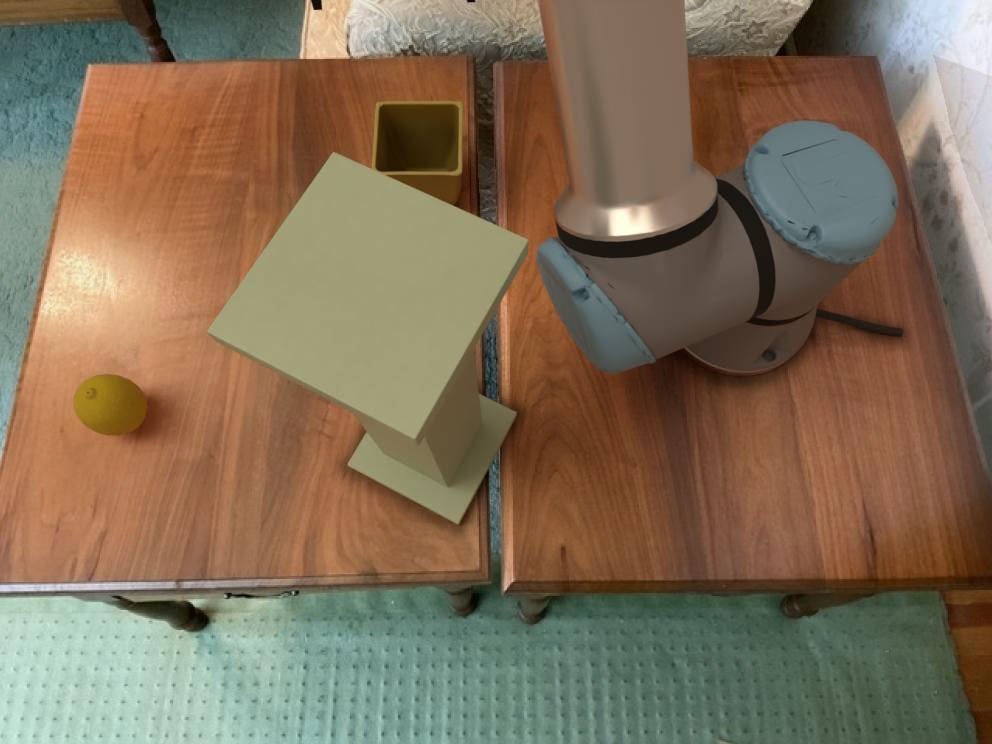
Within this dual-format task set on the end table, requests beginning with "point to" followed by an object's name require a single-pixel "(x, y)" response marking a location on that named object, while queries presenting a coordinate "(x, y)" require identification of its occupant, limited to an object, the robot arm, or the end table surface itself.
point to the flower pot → (420, 145)
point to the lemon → (110, 404)
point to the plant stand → (385, 325)
